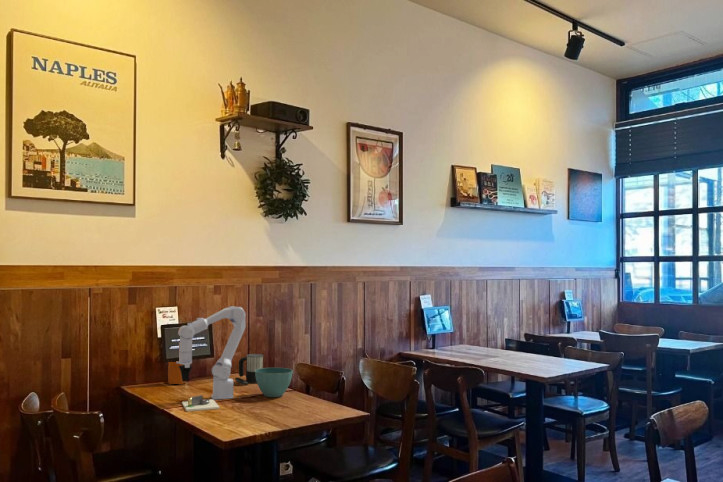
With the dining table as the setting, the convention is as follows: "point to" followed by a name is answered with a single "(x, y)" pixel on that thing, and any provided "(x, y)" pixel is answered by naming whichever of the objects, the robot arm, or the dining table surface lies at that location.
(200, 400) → the tuner dial
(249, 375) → the milk frother
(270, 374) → the plant pot
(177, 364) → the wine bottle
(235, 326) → the robot arm
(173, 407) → the dining table surface
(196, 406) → the tuner plate
